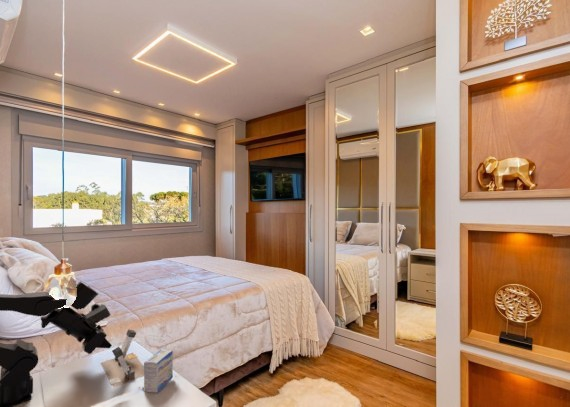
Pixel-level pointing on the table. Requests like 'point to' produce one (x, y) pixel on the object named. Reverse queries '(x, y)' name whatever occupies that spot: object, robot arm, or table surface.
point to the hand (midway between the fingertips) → (110, 346)
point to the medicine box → (158, 371)
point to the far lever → (127, 341)
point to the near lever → (121, 359)
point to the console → (117, 372)
